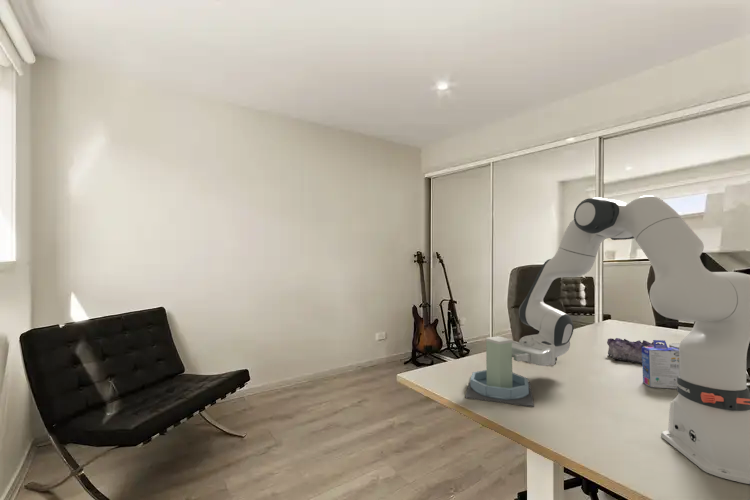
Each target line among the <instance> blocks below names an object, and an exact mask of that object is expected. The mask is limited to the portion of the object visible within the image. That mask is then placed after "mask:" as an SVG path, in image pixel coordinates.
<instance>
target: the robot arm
mask: <svg viewBox="0 0 750 500" xmlns="http://www.w3.org/2000/svg"><path fill="white" fill-rule="evenodd" d="M607 239H611V240H612V241H619V240H620V241H622V240H623V241H625V240H633V239H634V241H635V242H636V243H637V245H638V246H639V247H640V249H641V250H642V252H643V253H644V255H645V256H646V258H647V259H648V262H649V263H650V264H651V266H652V269H653V272H654V280H653V281H654V282H653V283H652V284H651V286H650V288H649V289H650V290H649V300H650V301H649V302H650V303H651V306H652V308H653V309H654V310H655V311H656V312H657V313H658V314H659V315H661V316H662V317H665V318H667V319H672V320H677V321H683V322H688V323H689V322H694V324H693V327H692V328H691V331H690V332H689V333H688V334H687V335H686V336H684V337H683V338H682V339H681V341H680V345H679V375H678V376H677V381H676V384H677V389H676V392H677V395H676V396H675V398H673V399H672V400H671V401H670V403H669V410H668V411H669V415H668V429H667V430H663V431H661V433H660V434H661V435H660V436H661V438H662V439H663V440H665V441H666V442H667V443H668V444H670V445H671V446H672V447H674V448H675V449H676V450H677V451H679V453H681V454H682V455H683V456H685V457H686V458H687V459H688V460H689V461H691V462H692V463H694V464H695V465H696V466H698V468H699V469H700V470H702V471H704V472H705V473H707V474H710V475H712V476H715V477H718V478H722V479H726V480H728V481H734V482H738V483H741V484H748V485H750V388H749V387H748V386H747V357H748V349H749V346H750V345H749V344H750V274H747V273H744V272H739V271H737V272H736V271H710V270H709V269H707V268H706V266H704V263H703V262H702V260H701V255H702V254H703V252H704V248H705V247H704V242H703V240H701V238H699V236H698V235H697V234H696V233H695V232H694V230H693V229H692V228H691V227H690V226H689V224H688V223H687V222H686V221H685V220H684V219H683V218H682V216H681V214H679V213H678V212H677V211H676V210H675V209H674V208H673V207H671V206H670V205H669V204H668V203H666V202H665V201H664V200H662V199H661V198H660V197H658V196H655V195H642V196H639V197H636V198H634V199H633V200H631V202H629V203H627V202H625V201H621V200H617V199H611V198H609V199H608V198H604V197H589V198H586V199H584V200H582V201H580V202H579V204H578V205H577V206H576V208H575V210H574V212H573V220H571V221H570V222H569V223H568V226H567V228H566V229H565V232H564V233H563V235H562V238H561V240H560V243H559V246H558V250H557V251H556V252H555V254H554V256H553V257H552V258H549V259H547V260H546V261H544V263H543V264H542V266H541V267H540V269H539V271H538V273H537V275H536V277H535V279H534V281H533V283H532V285H531V287H530V289H529V291H528V293H527V295H526V297H525V298H524V299H523V301H522V303H520V305H519V307H518V318H519V319H520V321H521V323H523V324H524V325H526V326H528V327H531V328H533V329H535V330H537V331H539V332H538V333H537V334H530V335H524V336H523V337H521V338H520V339H519V341H516V340H512V359H513V360H514V361H515V362H527V363H530V364H533V365H536V366H554V365H556V362H555V358H556V357H557V358H559V357H561V356H563V355H564V354H566V353H567V352H568V351H569V350H570V347H571V338H572V337H573V333H574V322H573V320H572V317H571V316H570V314H567V313H565V312H564V311H562V310H560V309H558V308H555V307H553V306H552V305H549V304H547V303H545V302H544V298H545V296H546V295H547V292H548V290H549V289H550V286H551V285H552V283H553V282H554V280H557V279H559V278H560V279H561V278H577V277H581V276H584V275H585V274H587V273H589V272H590V271H591V270H592V268H593V266H594V263H595V261H596V259H597V254H598V251H599V249H600V247H601V243H602V242H603V241H605V240H607Z"/></svg>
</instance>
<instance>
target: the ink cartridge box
mask: <svg viewBox="0 0 750 500" xmlns="http://www.w3.org/2000/svg"><path fill="white" fill-rule="evenodd" d="M652 342H653V343H654V347H642V364H641V366H642V367H641V368H642V383H643V384H645V385H647V387H648V388H659V389H662V388H663V389H672V390H673V389H676V390H677V384H676V381H677V376H678V375H679V349H677V348H674V347H669V346H668V345H667V344H668V343H667V342H666V340H664V339H663V340H661V339H660V340H659V339H658V340H657V339H653V340H652ZM657 343H660V344H663V345H657Z"/></svg>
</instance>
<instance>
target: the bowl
mask: <svg viewBox="0 0 750 500" xmlns="http://www.w3.org/2000/svg"><path fill="white" fill-rule="evenodd" d="M471 373H472V375H470V376H471V377H470V379H471V388H472V389H473V390H474V391H475V392H476V393H478V394H480V395H483V396H486V397H490V398H494V399H502V400H515V399H521V398H524V397H526V396H527V395H528V394H529V385H528V382H529V379H528V377H525V376H523V375H520V374H518V373H515V372H513V371H512V388H503V387H494V386H487V369H484V370H477V371H473V372H471Z"/></svg>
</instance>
